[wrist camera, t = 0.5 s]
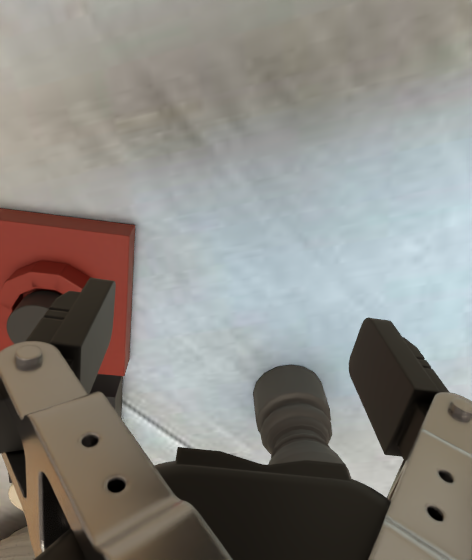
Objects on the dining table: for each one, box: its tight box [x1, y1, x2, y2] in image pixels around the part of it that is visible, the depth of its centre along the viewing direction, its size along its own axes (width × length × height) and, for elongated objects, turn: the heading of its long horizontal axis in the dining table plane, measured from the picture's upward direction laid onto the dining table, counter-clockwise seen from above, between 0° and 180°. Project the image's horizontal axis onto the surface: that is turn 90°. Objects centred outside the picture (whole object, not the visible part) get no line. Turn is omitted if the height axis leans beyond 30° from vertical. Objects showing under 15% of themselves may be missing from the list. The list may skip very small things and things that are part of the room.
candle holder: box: [253, 365, 351, 479], centre depth 27 cm, size 6×6×25 cm
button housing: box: [0, 208, 135, 376], centre depth 31 cm, size 12×10×4 cm
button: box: [7, 290, 61, 344], centre depth 29 cm, size 4×4×2 cm
